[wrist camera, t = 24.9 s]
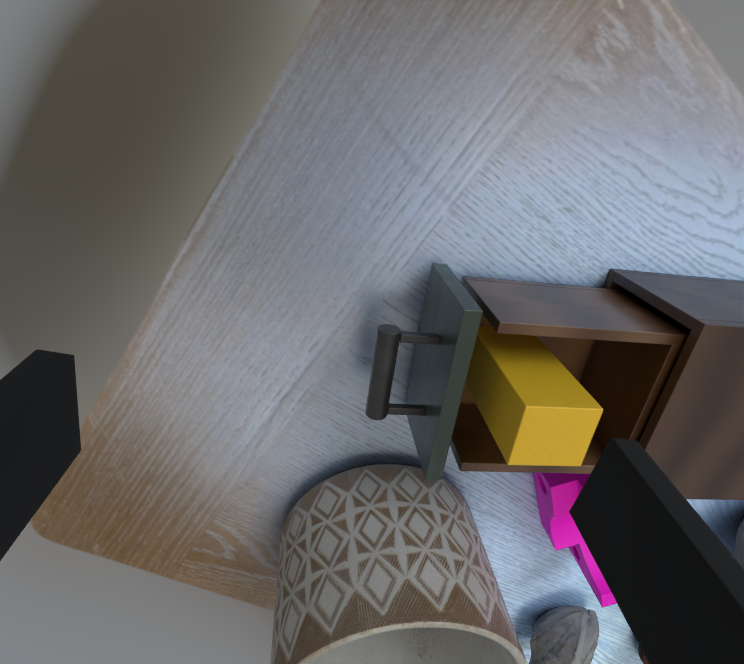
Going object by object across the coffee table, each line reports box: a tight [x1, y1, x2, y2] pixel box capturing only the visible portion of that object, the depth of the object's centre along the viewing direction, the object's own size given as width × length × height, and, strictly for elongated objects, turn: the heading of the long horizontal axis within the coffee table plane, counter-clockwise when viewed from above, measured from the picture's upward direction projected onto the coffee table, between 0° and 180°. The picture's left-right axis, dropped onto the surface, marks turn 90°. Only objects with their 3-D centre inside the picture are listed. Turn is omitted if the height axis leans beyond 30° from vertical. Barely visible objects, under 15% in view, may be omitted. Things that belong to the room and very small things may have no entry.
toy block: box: [534, 473, 617, 607], centre depth 47 cm, size 15×6×8 cm, turn 16°
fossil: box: [529, 606, 599, 664], centre depth 56 cm, size 11×9×8 cm
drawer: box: [365, 263, 688, 480], centre depth 35 cm, size 20×13×9 cm
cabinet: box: [604, 269, 744, 500], centre depth 38 cm, size 17×15×11 cm
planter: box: [271, 464, 527, 664], centre depth 42 cm, size 19×19×16 cm
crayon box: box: [465, 326, 603, 466], centre depth 34 cm, size 4×5×11 cm
